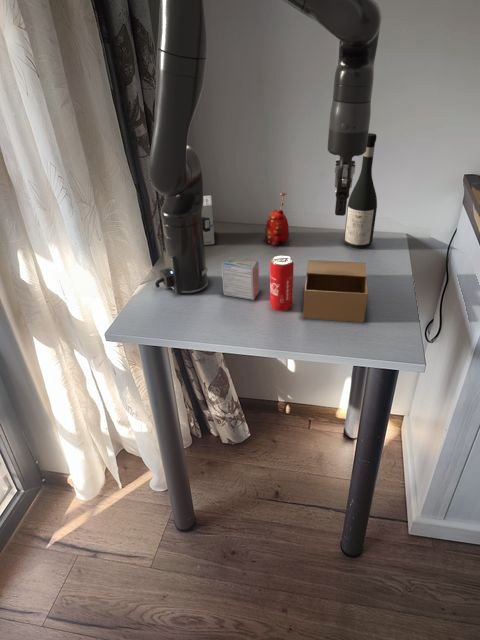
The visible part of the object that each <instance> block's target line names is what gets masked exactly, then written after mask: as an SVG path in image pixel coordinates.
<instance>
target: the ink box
mask: <svg viewBox="0 0 480 640" xmlns="http://www.w3.org/2000/svg"><path fill="white" fill-rule="evenodd" d="M203 198H204V201H203V207H202V226H203V238H204V246H205V245H206V246H207V245H209V246H210V245H215V243H216V242H215V228H214V215H213V214H214V213H213V202H212V201H213V199H212V195H203Z"/></svg>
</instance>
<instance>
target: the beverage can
mask: <svg viewBox="0 0 480 640" xmlns="http://www.w3.org/2000/svg"><path fill="white" fill-rule="evenodd" d="M294 265H295V264H294V261H293V258H292V257H291V256H288V255H283V254H280V255H279V254H278V255H275V256H273V257H272V258H271V260H270V263H269V303H270V306H271V308H272V309H273V310H274V311H277V312H286V311H289V310H290V309H291V306H292V305H293V291H294V267H295V266H294Z"/></svg>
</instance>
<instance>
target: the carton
mask: <svg viewBox="0 0 480 640" xmlns="http://www.w3.org/2000/svg"><path fill="white" fill-rule="evenodd" d="M303 291H304V293H303V295H304V296H303V315H302V319H307V320H308V319H309V320H321V321H322V320H323V321H337V322H338V321H339V322H352V323H353V322H354V323H364V322H365V318H366V309H367V304H368V296H369V289H368V281H367V277H351V276H333V275H315V274H307V273H306V276H305V283H304V290H303Z"/></svg>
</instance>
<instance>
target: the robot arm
mask: <svg viewBox="0 0 480 640" xmlns="http://www.w3.org/2000/svg"><path fill="white" fill-rule="evenodd" d="M282 1H284V2H285V3H286V4H288V5H289V6H291V7H292V8H294V9H295V10H297V11H299V13H302V14H303V15H304V16H306V17H308V18H310V19H312V20H313V21H315V22H316V23H318V24H319V25H320V26H322V28H324V29H325V30H326V31H327V32H328V33H330V34H331V35H332V36H334V37H335V38H336V39H338V40H339V44H338V45H339V46H338V47H339V48H338V60H337V66H336V69H335V73H334V79H333V93H332V103H331V107H330V113H329V124H328V125H329V126H328V137H327V152H328V153H329V154H331V155H334V156H339V159H335V162H334V173H335V174H334V187H335V188H336V190H335V198H336V199H335V207H334V214H335V216H346V215H347V206H348V199H349V198H350V191H351V189H352V187H353V180H354V179H353V178H354V175H355V174H356V160H353V158H354V157H360V156H363V154H364V153H365V152H366V148H367V140H368V133H370V131H369V130H370V122H371V115H372V113H371V112H372V106H371V105H372V96H373V90H374V89H373V88H374V79H375V60H376V54H377V49H378V44H379V37H380V31H381V24H382V12H381V8H380V6H379V4H378V3H377V1H376V0H282ZM204 2H205V1H204V0H159V14H158V32H157V33H158V34H157V43H156V44H157V45H156V46H157V49H156V65H155V67H156V68H155V69H156V70H155V71H156V73H155V74H156V79H155V81H156V82H155V97H154V98H155V99H154V120H153V121H154V123H153V132H152V139H151V144H150V145H151V146H150V152H149V157H148V158H149V159H148V176H149V180H150V182H151V185H152V187H153V188H154V189H155V190H156V192H158V193H159V194H160V195H162V196H164V197H165V198H164V202H163V203H162V206H161V209H160V216H161V225H162V231H163V239H164V247H165V249H163V253H162V254H163V259H164V265H165V268H163V269H160V270H159V277H160V278H159V279H158V280H156V281H155V283H154V284H155V287H156V288H158V289H159V288H160V283H163V285H164V286H165V287H166V288H167V289H169V288H170V289H171V290H173V292H174V293H175V294H176V295H181V294H195V293H199V292H201V291H203V290H204V289H207V287H208V284H209V280H208V273H207V272H208V271H209V270H208V267H207V261H206V250H205V249H206V248H205V245H204V238H203V226H202V207H203V201H204V198H203V196H204V181H203V179H204V178H203V177H204V176H203V166H202V162H201V160H200V157H199V155H198V153H197V152H196V150H195V149H193V147H191V146H190V145H189V144H188V140H189V134H190V133H189V132H190V127H191V125H192V122H193V120H194V119H193V118H194V116H195V114H196V111H197V108H198V107H199V106H198V105H199V103H200V100H201V97H202V94H203V90H204V85H205V81H206V74H207V73H206V72H207V63H208V62H207V61H208V52H209V40H208V39H209V38H208V26H207V19H206V11H205V3H204Z"/></svg>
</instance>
